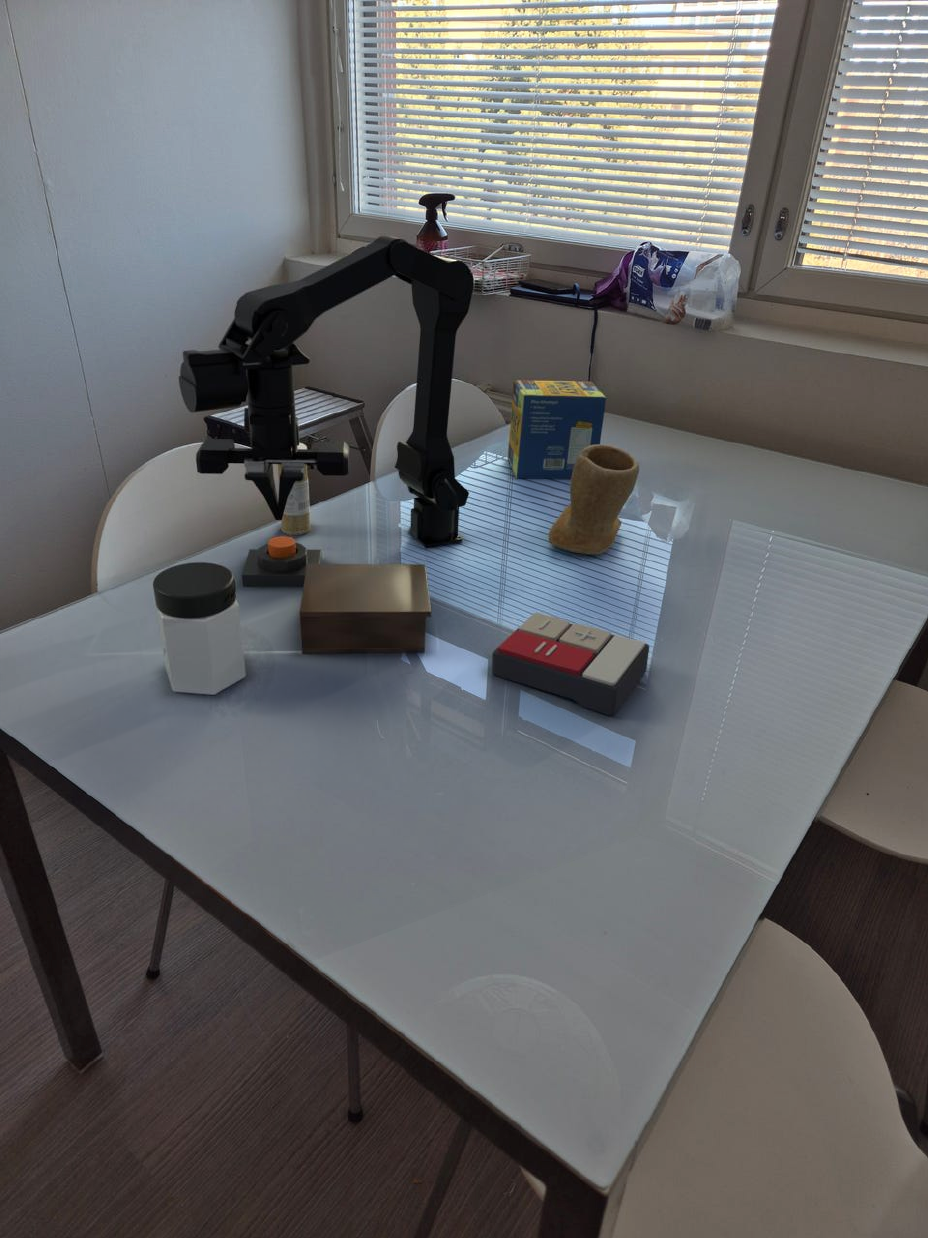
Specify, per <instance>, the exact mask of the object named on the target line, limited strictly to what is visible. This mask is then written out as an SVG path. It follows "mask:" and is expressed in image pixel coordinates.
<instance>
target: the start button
mask: <svg viewBox="0 0 928 1238" xmlns="http://www.w3.org/2000/svg"><path fill="white" fill-rule="evenodd" d="M295 543H296V540H295V539H294V537H293V538H292V537H290V536H284V535H283V536H282V535H281V536H275V537H272V538H270V539H269V540H268V541H267V544H268V550H269V555H270V556H271V557H275V558H287V557H291V556H294V555H295V553H296V548H295Z"/></svg>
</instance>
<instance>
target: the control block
mask: <svg viewBox="0 0 928 1238" xmlns="http://www.w3.org/2000/svg"><path fill="white" fill-rule="evenodd" d="M295 548H296V553H295V555H294V556H291V557H287V558H275V557H271V556H270V555H269V550H268V543H265V544H264V545H262V546H260V547H258V548H255V549H254V548H251V549H249V550H248V553H247V556H246V559H245V562H244V566H243V570H242V572H241V584H242V588H303V587H304V581H305V574H306V568H307V564H323V557H322V555H323V554H322V553H323V552H322V549H308V548H307V547H306V546H304V545H303V544H302V543H299V542H295Z"/></svg>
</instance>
